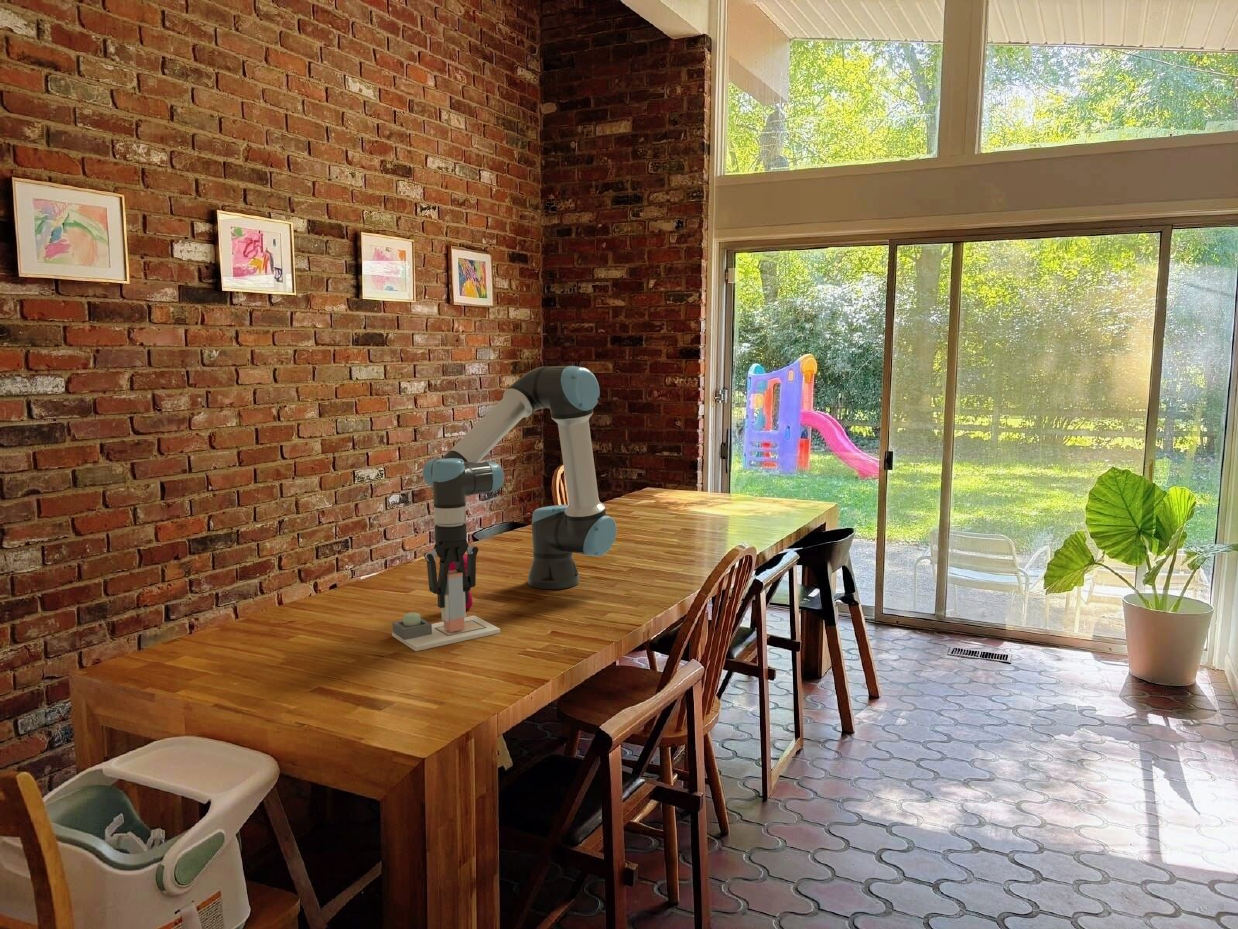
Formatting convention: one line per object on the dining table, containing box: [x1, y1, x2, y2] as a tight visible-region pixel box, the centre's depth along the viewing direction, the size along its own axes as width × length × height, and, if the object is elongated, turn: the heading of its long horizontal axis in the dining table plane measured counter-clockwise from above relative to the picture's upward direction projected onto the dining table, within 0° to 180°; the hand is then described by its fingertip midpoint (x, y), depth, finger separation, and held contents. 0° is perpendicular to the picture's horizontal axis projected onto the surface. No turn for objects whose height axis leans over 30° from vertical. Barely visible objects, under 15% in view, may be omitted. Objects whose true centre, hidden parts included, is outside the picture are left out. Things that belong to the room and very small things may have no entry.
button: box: [402, 612, 421, 628], centre depth 212 cm, size 4×4×3 cm
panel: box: [391, 615, 501, 652], centre depth 214 cm, size 22×14×4 cm, turn 126°
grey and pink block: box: [443, 570, 465, 632], centre depth 213 cm, size 4×4×14 cm
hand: (453, 618), depth 214 cm, fingers closed on grey and pink block, 4 cm apart
